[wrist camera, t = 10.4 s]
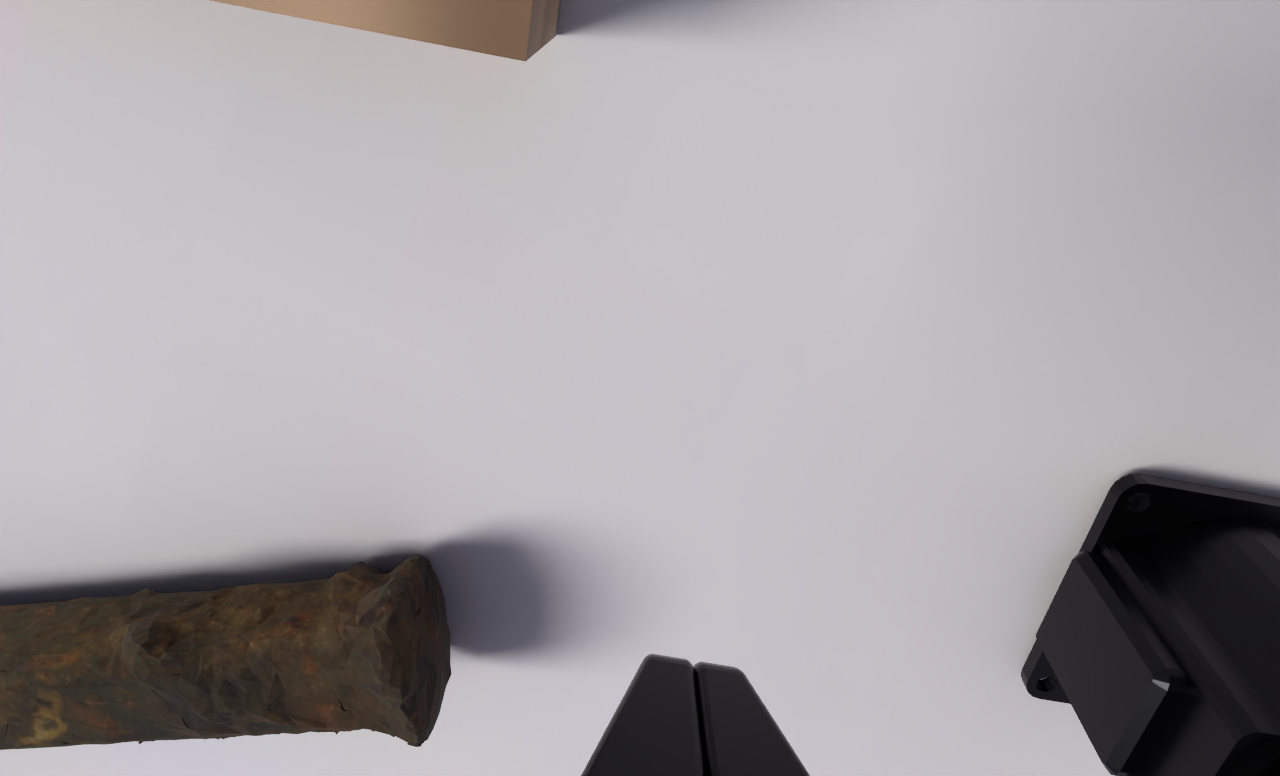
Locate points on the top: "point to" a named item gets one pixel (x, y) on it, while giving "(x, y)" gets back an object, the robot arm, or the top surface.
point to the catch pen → (436, 20)
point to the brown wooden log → (229, 661)
